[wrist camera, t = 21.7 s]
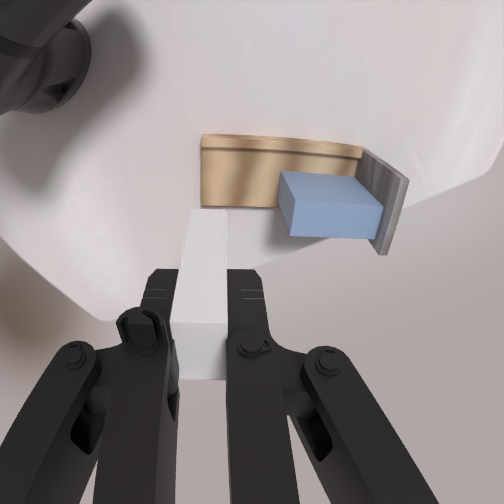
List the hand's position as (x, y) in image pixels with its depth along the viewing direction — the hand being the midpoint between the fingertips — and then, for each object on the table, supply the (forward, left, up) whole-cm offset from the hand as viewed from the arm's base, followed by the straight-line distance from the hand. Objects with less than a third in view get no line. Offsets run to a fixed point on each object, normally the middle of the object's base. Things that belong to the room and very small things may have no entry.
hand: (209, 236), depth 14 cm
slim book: (+14, -8, -28) cm, 32 cm away
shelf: (+9, -6, -29) cm, 31 cm away
